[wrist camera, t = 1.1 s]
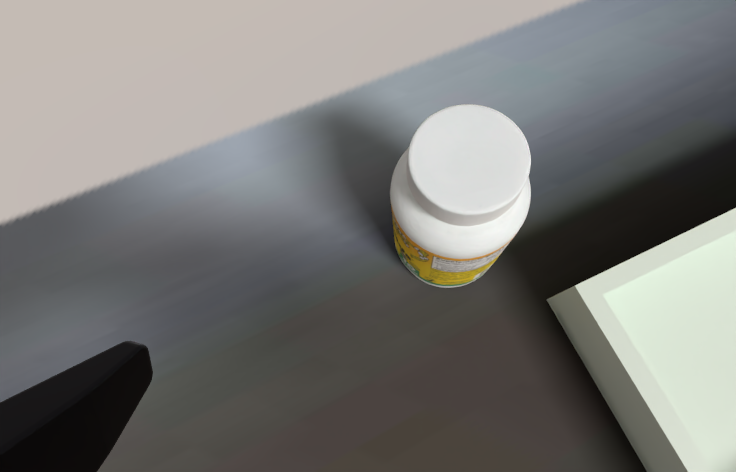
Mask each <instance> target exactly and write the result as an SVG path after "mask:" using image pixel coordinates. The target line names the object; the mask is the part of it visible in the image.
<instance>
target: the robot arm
mask: <svg viewBox="0 0 736 472" xmlns="http://www.w3.org/2000/svg"><path fill="white" fill-rule="evenodd" d="M152 375H153V371H152V366H151V361H150V356H149V351H148V348H147V347H146V346H145V345H143V344H139V343H136V342H132V341H125V342H122V343H120V344H118V345H116V346H114V347H112V348H110V349H108V350H106V351H104V352H102V353H100V354H98V355H96V356H94V357H92V358H90V359H88V360H86V361H84V362H81V363H79V364H77V365H75V366H73V367H71V368H69V369H67V370H65V371H63V372H61V373H59V374H57V375H55V376H53V377H51V378H49V379H47V380H45V381H43V382H41V383H39V384H37V385H35V386H33V387H31V388H29V389H27V390H25V391H23V392H21V393H19V394H17V395H15V396H13V397H11V398H9V399H6V400H4V401H2V402H0V472H97V471H98V469H99V468H100V466H101V465H102V463H103V462H104V460H105V459H106V458H107V456H108V455H109V453H110V451H111V450H112V448H113V447H114V445H115V443H116V442H117V440H118V438H119V436H120V435H121V433H122V431H123V430H124V428H125V426H126V424H127V423H128V421H129V419H130V417H131V416H132V414H133V412H134V411H135V409H136V407H137V405H138V404H139V402H140V400H141V398H142V397H143V395H144V393H145V392H146V390H147V388H148V386H149V384H150V382H151V380H152Z"/></svg>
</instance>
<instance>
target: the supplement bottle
mask: <svg viewBox="0 0 736 472" xmlns="http://www.w3.org/2000/svg"><path fill="white" fill-rule="evenodd" d="M530 165H531V157H530V150H529V146H528V143H527V140H526V138H525V136H524V135H523V133H522V131H521V130H520V129H519V128H518V126H517V125H516V124H515V123H514V122H513V121H512V120H511V119H509V118H508V117H507V116H505V115H504V114H502V113H500V112H498V111H496V110H494V109H491V108H489V107H485V106H481V105H474V104H462V105H455V106H451V107H447V108H445V109H442V110H440V111H438V112H436V113H434V114H433V115H431V116H430V117H428V118H427V119H426V120H425V121H424V122H423V123H422V124H421V125H420V126H419V127H418V129H417V130H416V132H415V133H414V135H413V137H412V140H411V143H410V145H409V148H408V149H407V150H406V151H405V152H404V153H403V155H402V156H401V158H400V159H399V161H398V163H397V165H396V167H395V170H394V173H393V176H392V180H391V188H390V201H391V209H392V217H393V229H394V239H395V246H396V249H397V252H398V255H399V257H400V259H401V261H402V262H403V263H404V265H405V266H406V267H407V268H408V269H409V270H410V272H411V273H412V274H414V275H415V276H416V277H417V278H418V279H420V280H422V281H423V282H425V283H427V284H430V285H433V286H437V287H446V288H449V287H458V286H463V285H466V284H469V283H471V282H473V281H475V280H476V279H478V278H479V277H481V276H482V275H483V274H484V273H485V272H486V271H487V270H488V269H489V268H490V267H491V266H492V264H493V263H494V262H495V261H496V259H497V258H498V257H499V255H500V254H501V253H502V252H503V250H504V249H505V248H506V246H507V245H508V244H509V243H510V241H511V240H512V239H513V238H514V236H515V235H516V234H517V232H518V231H519V229H520V228H521V226H522V224H523V223H524V221H525V218H526V216H527V213H528V210H529V205H530V198H531V189H530V181H529V177H528V176H529V172H530Z"/></svg>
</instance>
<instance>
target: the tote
mask: <svg viewBox="0 0 736 472" xmlns="http://www.w3.org/2000/svg"><path fill="white" fill-rule="evenodd" d="M546 300H547V302H548V303H549V305H550V307H551V308H552V310H553V312H554V313H555V315H556V317H557V319H558V320H559V322H560V324H561V325H562V327H563V329H564V331H565V332H566V334H567V336H568V337H569V339H570V341H571V343H572V344H573V346H574V348H575V349H576V351H577V353H578V355H579V356H580V358H581V360H582V361H583V363H584V365H585V367H586V368H587V370H588V372H589V373H590V375H591V377H592V379H593V380H594V382H595V384H596V385H597V387H598V389H599V391H600V392H601V394H602V396H603V397H604V399H605V401H606V402H607V404H608V406H609V408H610V409H611V411H612V413H613V414H614V416H615V418H616V420H617V421H618V423H619V425H620V426H621V428H622V430H623V432H624V433H625V435H626V437H627V438H628V440H629V442H630V444H631V445H632V447H633V449H634V450H635V452H636V454H637V456H638V457H639V459H640V461H641V462H642V464H643V466H644V468H645V469H646V471H647V472H736V208H735V209H732V210H730V211H728V212H726V213H724V214H722V215H720V216H718V217H716V218H714V219H712V220H710V221H708V222H706V223H703V224H701V225H699V226H697V227H695V228H693V229H691V230H689V231H687V232H685V233H683V234H681V235H679V236H677V237H674V238H672V239H670V240H668V241H666V242H664V243H662V244H660V245H658V246H656V247H654V248H652V249H650V250H648V251H646V252H643V253H641V254H639V255H637V256H635V257H633V258H631V259H629V260H627V261H625V262H623V263H621V264H619V265H617V266H614V267H612V268H610V269H608V270H606V271H604V272H602V273H600V274H598V275H596V276H594V277H592V278H590V279H588V280H585V281H583V282H581V283H579V284H577V285H575V286H573V287H571V288H569V289H567V290H565V291H563V292H561V293H559V294H557V295H555V296H553V297H551V298H549V299H546Z"/></svg>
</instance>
